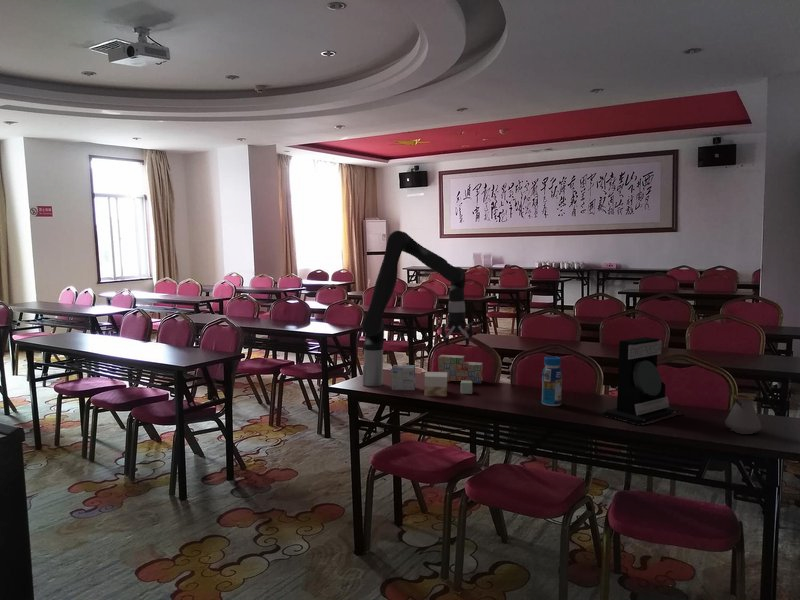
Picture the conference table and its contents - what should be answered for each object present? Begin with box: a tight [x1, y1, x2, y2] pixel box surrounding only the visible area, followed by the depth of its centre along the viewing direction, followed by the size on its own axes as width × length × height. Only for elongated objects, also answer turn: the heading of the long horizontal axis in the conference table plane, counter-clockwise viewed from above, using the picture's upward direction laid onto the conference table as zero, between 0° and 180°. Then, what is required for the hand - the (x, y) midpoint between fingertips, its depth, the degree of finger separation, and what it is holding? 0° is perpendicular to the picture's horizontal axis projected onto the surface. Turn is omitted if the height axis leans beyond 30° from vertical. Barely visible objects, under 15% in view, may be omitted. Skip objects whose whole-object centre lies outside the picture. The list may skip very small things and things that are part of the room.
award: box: [601, 336, 680, 424], centre depth 238 cm, size 30×19×30 cm, turn 126°
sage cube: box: [460, 380, 473, 395], centre depth 275 cm, size 5×5×5 cm
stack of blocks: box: [437, 354, 483, 384], centre depth 298 cm, size 21×6×12 cm, turn 73°
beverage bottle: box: [541, 355, 563, 407], centre depth 254 cm, size 8×8×20 cm
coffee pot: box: [724, 394, 762, 433], centre depth 213 cm, size 21×12×15 cm, turn 140°
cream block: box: [424, 371, 448, 388], centre depth 272 cm, size 10×10×4 cm
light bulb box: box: [391, 364, 416, 391], centre depth 281 cm, size 11×7×11 cm, turn 84°
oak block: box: [423, 385, 448, 397], centre depth 273 cm, size 10×10×4 cm
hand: (457, 345), depth 276 cm, fingers open, 8 cm apart
